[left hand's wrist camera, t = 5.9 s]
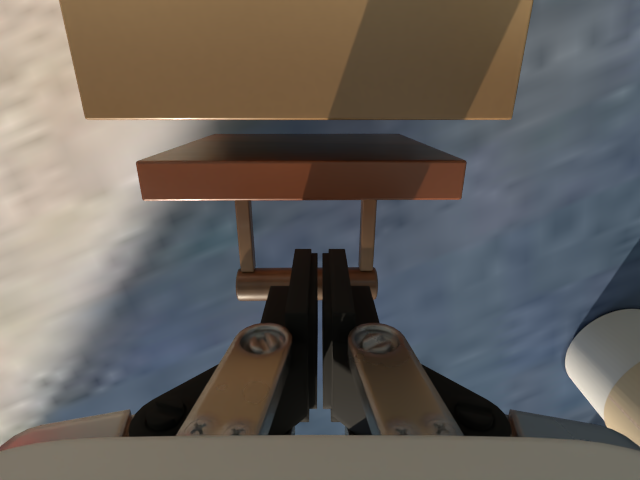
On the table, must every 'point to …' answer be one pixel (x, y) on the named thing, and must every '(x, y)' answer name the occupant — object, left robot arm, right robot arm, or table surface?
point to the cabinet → (297, 58)
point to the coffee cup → (610, 369)
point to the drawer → (301, 185)
